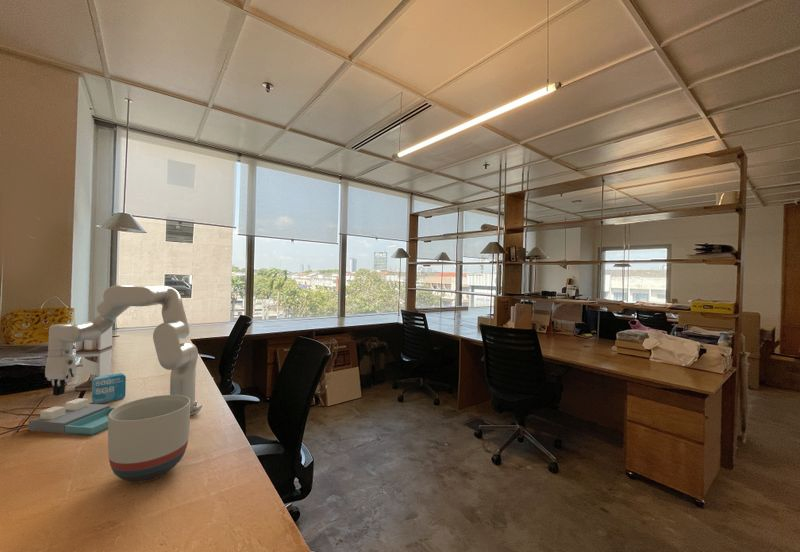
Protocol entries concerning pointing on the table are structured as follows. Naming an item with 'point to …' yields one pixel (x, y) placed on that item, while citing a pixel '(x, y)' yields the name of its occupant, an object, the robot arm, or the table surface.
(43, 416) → the beige block
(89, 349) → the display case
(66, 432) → the box
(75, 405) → the beige block
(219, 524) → the table surface
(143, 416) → the planter
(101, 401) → the data package
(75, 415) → the plate
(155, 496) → the table surface
